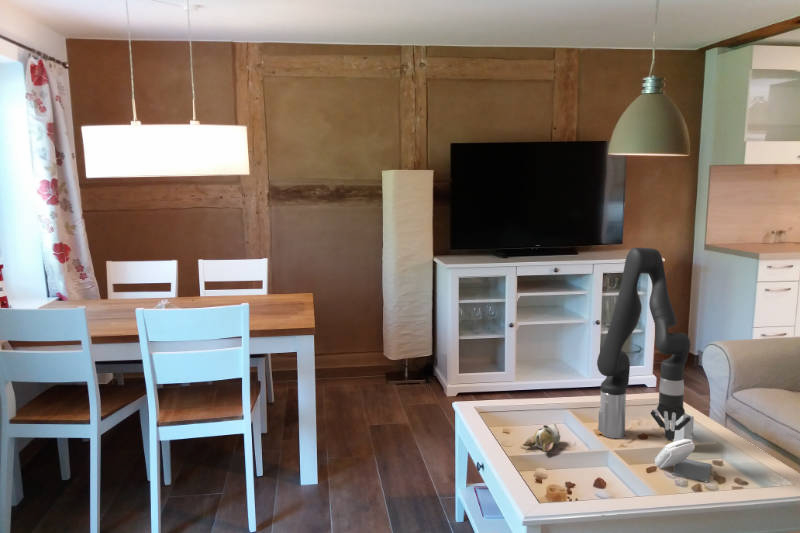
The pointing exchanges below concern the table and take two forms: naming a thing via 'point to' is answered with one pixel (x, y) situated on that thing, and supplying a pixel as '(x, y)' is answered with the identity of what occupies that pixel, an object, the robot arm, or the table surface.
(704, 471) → the mat
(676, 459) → the photo printer
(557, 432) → the ceramic sculpture
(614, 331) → the robot arm
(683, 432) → the skincare box
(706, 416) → the table surface
